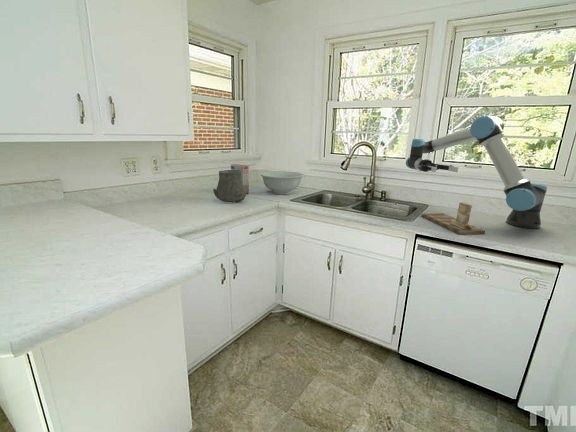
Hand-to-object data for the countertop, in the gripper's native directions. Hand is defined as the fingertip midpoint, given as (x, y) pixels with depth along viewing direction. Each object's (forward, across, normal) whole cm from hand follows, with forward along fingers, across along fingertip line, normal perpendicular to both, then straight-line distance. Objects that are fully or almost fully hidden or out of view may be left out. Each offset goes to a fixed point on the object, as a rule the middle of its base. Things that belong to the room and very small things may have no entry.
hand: (446, 169), depth 163 cm
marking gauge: (+20, +2, -26) cm, 33 cm away
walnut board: (+12, +2, -28) cm, 31 cm away
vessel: (-44, +120, -28) cm, 131 cm away
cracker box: (-71, +114, -28) cm, 137 cm away
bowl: (-71, +83, -28) cm, 113 cm away
